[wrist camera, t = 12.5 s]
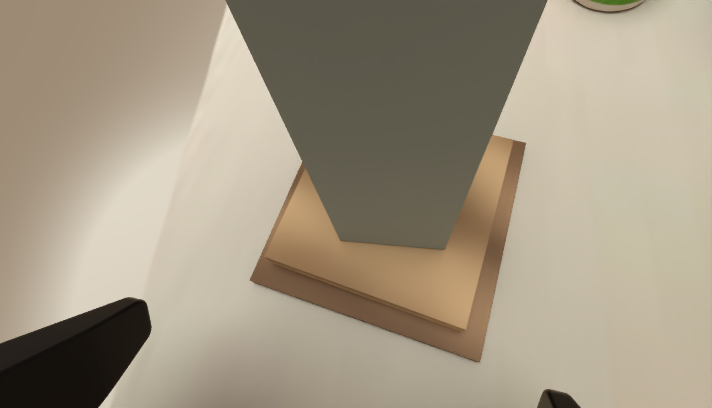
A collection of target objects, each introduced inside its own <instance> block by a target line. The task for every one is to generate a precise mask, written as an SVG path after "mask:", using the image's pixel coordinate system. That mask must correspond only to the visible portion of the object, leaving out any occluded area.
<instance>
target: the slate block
mask: <svg viewBox="0 0 712 408" xmlns="http://www.w3.org/2000/svg"><path fill="white" fill-rule="evenodd" d="M226 2H227V4H228V6H229V8H230V11H231V13H232V15H233V17H234V19H235V21H236V23H237V25H238V27H239V29H240V32H241V34H242V36H243V38H244V40H245V42H246V44H247V46H248V48H249V50H250V53H251V55H252V57H253V59H254V61H255V63H256V65H257V67H258V69H259V71H260V74H261V76H262V78H263V80H264V82H265V84H266V86H267V88H268V90H269V92H270V95H271V97H272V99H273V101H274V103H275V105H276V107H277V109H278V111H279V113H280V116H281V118H282V120H283V122H284V124H285V126H286V128H287V130H288V132H289V134H290V137H291V139H292V141H293V143H294V145H295V147H296V149H297V151H298V153H299V155H300V157H301V160H302V162H303V164H304V166H305V168H306V170H307V172H308V174H309V176H310V178H311V181H312V183H313V185H314V187H315V189H316V191H317V193H318V195H319V197H320V199H321V202H322V204H323V206H324V208H325V210H326V212H327V214H328V216H329V218H330V220H331V223H332V225H333V227H334V229H335V231H336V233H337V235H338V237H339V239H340V241H350V242H361V243H373V244H384V245H396V246H407V247H419V248H430V249H442V250H445V248H446V245H447V243H448V240H449V238H450V236H451V233H452V231H453V228H454V226H455V223H456V221H457V219H458V216H459V214H460V211H461V209H462V206H463V204H464V202H465V199H466V197H467V194H468V192H469V189H470V187H471V185H472V182H473V180H474V177H475V175H476V173H477V170H478V168H479V165H480V163H481V160H482V158H483V156H484V153H485V151H486V148H487V146H488V143H489V141H490V139H491V136H492V134H493V131H494V129H495V126H496V124H497V122H498V119H499V117H500V114H501V112H502V109H503V107H504V105H505V102H506V100H507V97H508V95H509V92H510V90H511V88H512V85H513V83H514V80H515V78H516V75H517V73H518V71H519V68H520V66H521V63H522V61H523V58H524V56H525V54H526V51H527V49H528V46H529V44H530V41H531V39H532V37H533V34H534V32H535V29H536V27H537V24H538V22H539V20H540V17H541V15H542V12H543V10H544V7H545V5H546V3H547V0H226Z"/></svg>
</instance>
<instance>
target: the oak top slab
mask: <svg viewBox="0 0 712 408" xmlns="http://www.w3.org/2000/svg"><path fill="white" fill-rule="evenodd" d="M513 141H514V140H512V139H507V138H503V137H499V136H494V135H492V136H491V139H490V141H489V143H488V146H487V148H486V151H485V153H484V156H483V158H482V160H481V163H480V165H479V168H478V170H477V173H476V175H475V177H474V180H473V182H472V185H471V187H470V189H469V192H468V194H467V197H466V199H465V202H464V204H463V206H462V209H461V211H460V214H459V216H458V219H457V221H456V223H455V226H454V228H453V231H452V233H451V236H450V238H449V240H448V243H447V245H446V248H445V250H442V249H430V248H419V247H407V246H396V245H384V244H373V243H361V242H350V241H340V239H339V237H338V235H337V233H336V231H335V229H334V227H333V225H332V223H331V220H330V218H329V216H328V214H327V212H326V210H325V208H324V206H323V204H322V202H321V199H320V197H319V195H318V193H317V191H316V189H315V187H314V185H313V183H312V181H311V178H310V176H309V174H308V172H307V170H306V168H305V170H304V172H303V174H302V176H301V179H300V181H299V183H298V185H297V187H296V189H295V191H294V194H293V196H292V198H291V200H290V202H289V204H288V206H287V209H286V211H285V213H284V215H283V217H282V219H281V221H280V224H279V226H278V228H277V230H276V232H275V234H274V236H273V239H272V241H271V243H270V245H269V247H268V249H267V252H266V254H265V256H264V257H265V258H266V259H268V260H269V261H271V262H272V263H273V264H275V265H278V266H281V267H284V268H286V269H289V270H292V271H295V272H297V273H300V274H303V275H306V276H308V277H311V278H314V279H317V280H319V281H322V282H325V283H328V284H330V285H333V286H336V287H338V288H341V289H344V290H347V291H349V292H352V293H355V294H358V295H360V296H363V297H366V298H369V299H371V300H374V301H377V302H380V303H382V304H385V305H388V306H391V307H393V308H396V309H399V310H401V311H404V312H407V313H410V314H412V315H415V316H418V317H421V318H423V319H426V320H429V321H432V322H434V323H437V324H440V325H443V326H445V327H448V328H451V329H454V330H456V331H459V332H462V331H464V330H466V327H467V323H468V319H469V315H470V311H471V307H472V303H473V299H474V295H475V291H476V288H477V284H478V280H479V276H480V272H481V268H482V264H483V260H484V256H485V252H486V248H487V244H488V240H489V236H490V232H491V228H492V224H493V220H494V216H495V212H496V208H497V204H498V200H499V196H500V192H501V188H502V184H503V180H504V176H505V172H506V168H507V164H508V160H509V156H510V152H511V148H512V145H513Z"/></svg>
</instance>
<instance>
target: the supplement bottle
mask: <svg viewBox="0 0 712 408" xmlns="http://www.w3.org/2000/svg"><path fill="white" fill-rule="evenodd" d="M576 1H577V2H579V3H580V4H582V5H584V6H586V7H588V8H591V9H595V10H600V11H621V10H625V9H629V8H632V7H634V6H637V5H638V4H640V3H642V2H643V1H644V0H576Z"/></svg>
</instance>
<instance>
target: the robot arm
mask: <svg viewBox="0 0 712 408" xmlns="http://www.w3.org/2000/svg"><path fill="white" fill-rule="evenodd" d="M151 328H152V326H151V321H150V316H149V311H148V307H147V303H146V302H145V301H144V300H141V299H136V298H132V297H128V298H124V299H121V300H118V301H116V302H113V303H110V304H107V305H105V306H102V307H99V308H96V309H94V310H91V311H88V312H85V313H83V314H80V315H77V316H74V317H72V318H69V319H66V320H63V321H61V322H58V323H55V324H52V325H50V326H47V327H44V328H41V329H39V330H36V331H33V332H30V333H28V334H25V335H22V336H19V337H17V338H14V339H11V340H8V341H6V342H3V343H1V344H0V408H98V407H99V406H100V405H101V404H102V402H103V401H104V400H105V398H106V397H107V396H108V395H109V393H110V392H111V390H112V389H113V388H114V386H115V385H116V383H117V382H118V381H119V379H120V378H121V376H122V375H123V373H124V372H125V370H126V369H127V368H128V366H129V365H130V363H131V362H132V360H133V359H134V357H135V356H136V355H137V353H138V352H139V350H140V349H141V347H142V346H143V344H144V343H145V342H146V340H147V339H148V337H149V335H150V333H151ZM537 408H581V407H580V406H579V405H578V404H577V403H576V402H575V400H574V399H573V398H572V397H571V396H570V395H568V394H567V393H564V392H560V391H555V390H551V389H546V390H544V391H543V393H542V395H541V398H540V401H539V404H538V407H537Z"/></svg>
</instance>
